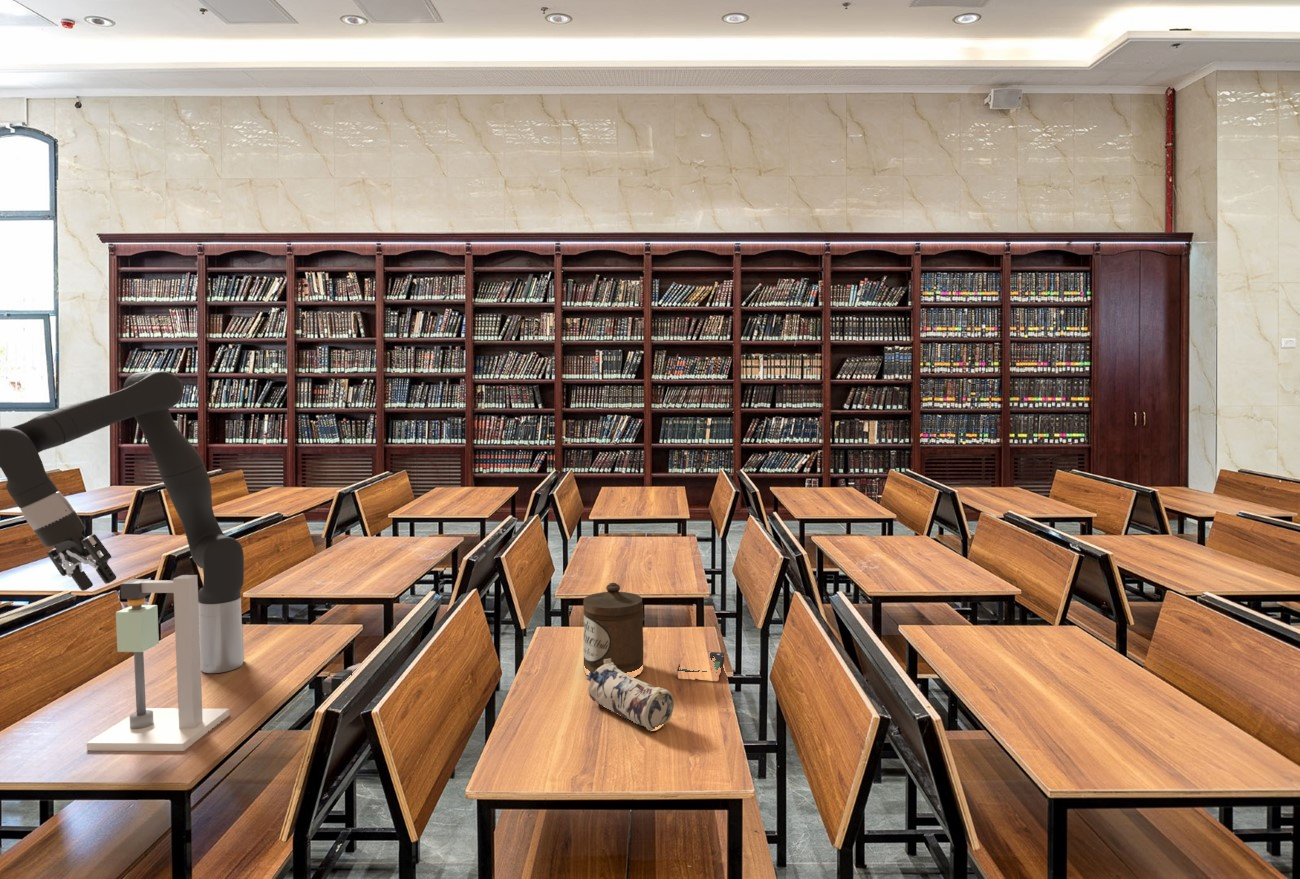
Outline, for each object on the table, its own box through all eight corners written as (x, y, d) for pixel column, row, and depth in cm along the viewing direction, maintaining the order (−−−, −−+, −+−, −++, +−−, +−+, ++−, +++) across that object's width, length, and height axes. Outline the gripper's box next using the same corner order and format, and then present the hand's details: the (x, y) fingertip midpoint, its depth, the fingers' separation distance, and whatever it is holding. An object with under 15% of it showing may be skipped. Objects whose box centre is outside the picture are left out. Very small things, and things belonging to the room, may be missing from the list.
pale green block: (134, 643, 157) (132, 605, 156) (158, 643, 157) (157, 605, 156) (117, 651, 152) (115, 612, 151) (142, 652, 152) (140, 612, 151)
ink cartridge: (342, 713, 165) (341, 677, 164) (332, 713, 165) (331, 677, 164) (354, 703, 170) (352, 668, 169) (344, 703, 170) (343, 668, 169)
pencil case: (584, 706, 170) (584, 662, 169) (614, 696, 175) (614, 654, 174) (648, 741, 153) (648, 693, 152) (679, 729, 158) (680, 682, 158)
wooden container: (575, 665, 194) (575, 579, 193) (630, 657, 200) (630, 573, 198) (594, 686, 181) (594, 594, 179) (652, 677, 186) (653, 587, 185)
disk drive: (684, 660, 200) (676, 681, 185) (684, 649, 200) (676, 669, 185) (724, 662, 198) (719, 683, 183) (724, 652, 198) (719, 672, 183)
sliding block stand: (142, 714, 164) (136, 567, 161) (229, 715, 164) (224, 567, 161) (87, 750, 148) (79, 586, 145) (183, 751, 148) (176, 587, 145)
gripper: (90, 502, 156) (135, 569, 161) (51, 517, 162) (96, 580, 167) (54, 520, 150) (103, 589, 154) (15, 535, 156) (63, 601, 160)
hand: (99, 585), depth 160 cm, fingers open, 8 cm apart
